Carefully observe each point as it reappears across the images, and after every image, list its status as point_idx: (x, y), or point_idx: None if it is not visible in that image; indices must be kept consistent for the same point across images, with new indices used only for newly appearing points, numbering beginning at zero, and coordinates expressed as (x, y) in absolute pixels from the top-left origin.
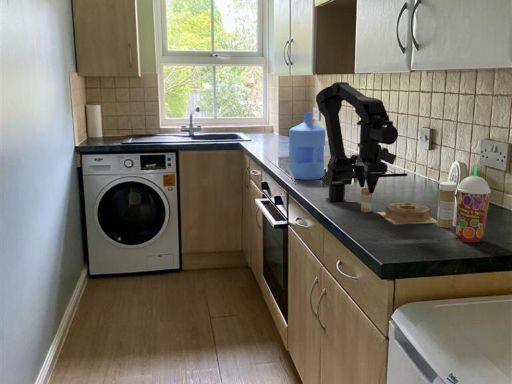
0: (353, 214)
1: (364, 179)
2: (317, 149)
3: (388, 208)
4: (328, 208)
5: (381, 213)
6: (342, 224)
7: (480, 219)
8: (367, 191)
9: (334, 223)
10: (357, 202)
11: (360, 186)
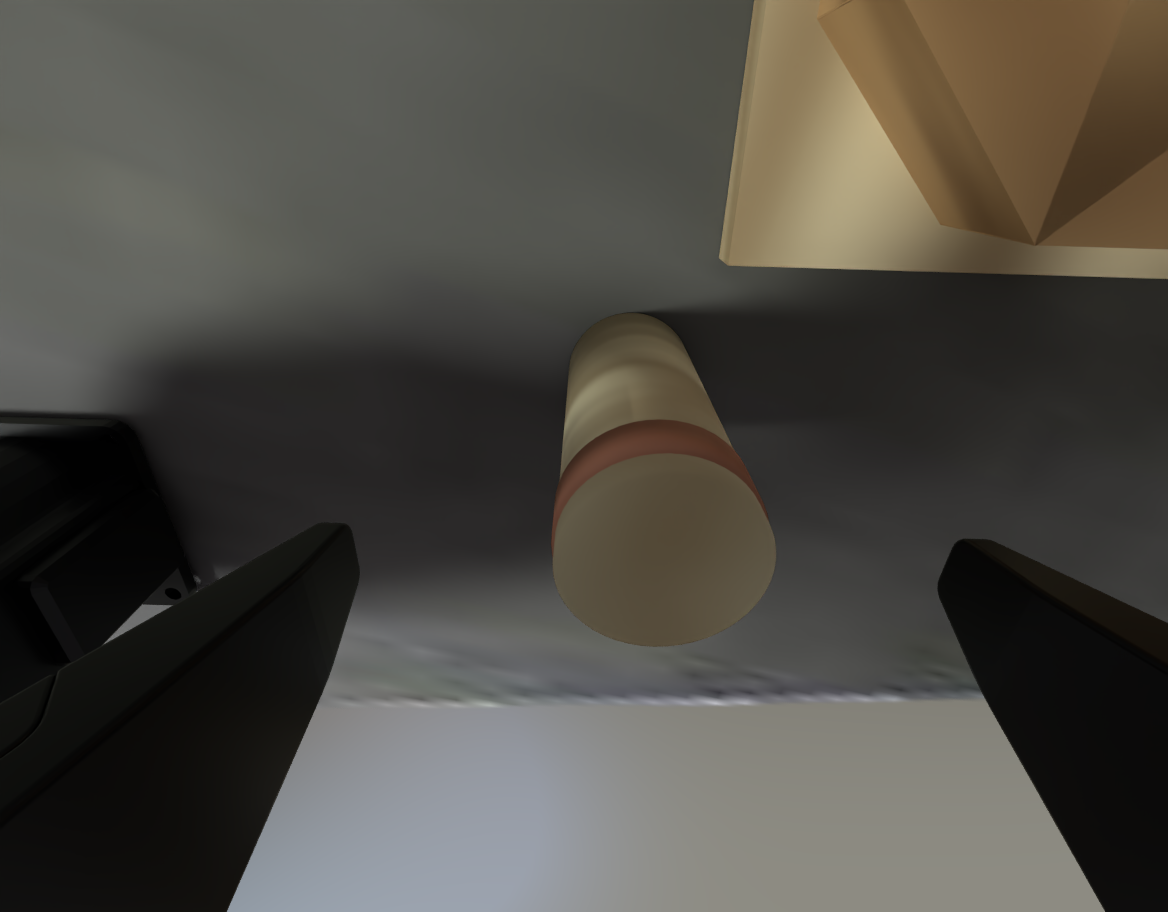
0: None
1: (247, 648)
2: None
3: (1155, 246)
4: (385, 636)
5: (822, 235)
6: (919, 662)
7: None
8: (762, 569)
9: (868, 699)
10: (24, 277)
11: (353, 589)
